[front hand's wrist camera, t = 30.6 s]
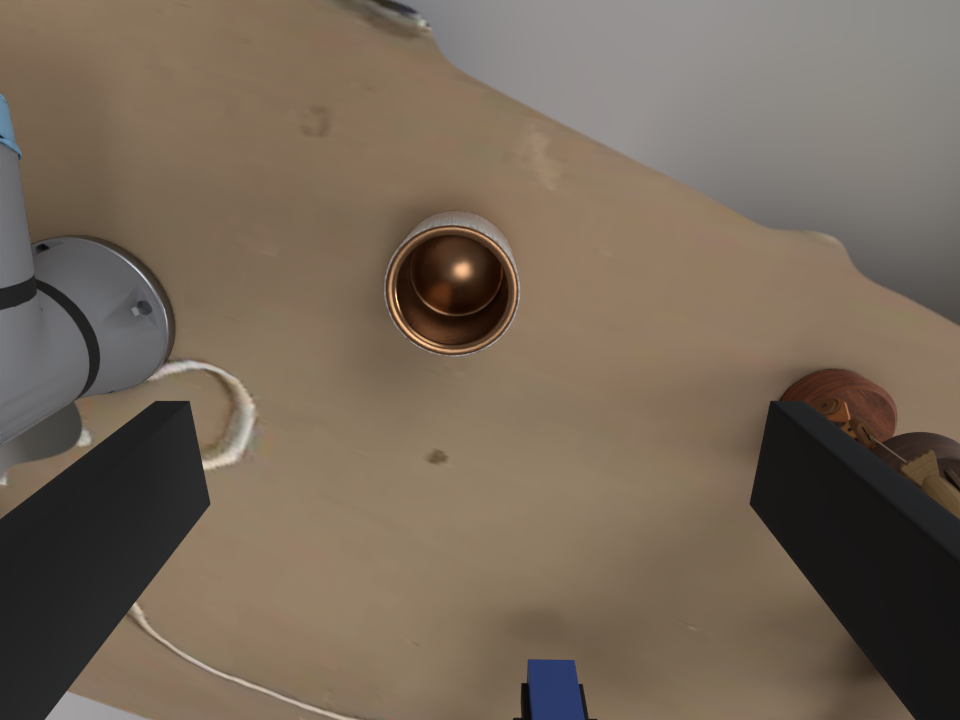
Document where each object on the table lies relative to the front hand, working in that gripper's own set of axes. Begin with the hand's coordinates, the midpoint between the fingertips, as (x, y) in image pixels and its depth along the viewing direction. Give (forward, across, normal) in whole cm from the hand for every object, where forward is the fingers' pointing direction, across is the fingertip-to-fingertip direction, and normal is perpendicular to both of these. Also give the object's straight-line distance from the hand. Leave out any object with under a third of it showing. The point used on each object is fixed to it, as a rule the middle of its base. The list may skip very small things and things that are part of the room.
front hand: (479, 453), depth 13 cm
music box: (+41, +36, -20) cm, 58 cm away
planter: (+41, -2, -4) cm, 41 cm away
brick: (+33, +8, -48) cm, 58 cm away
